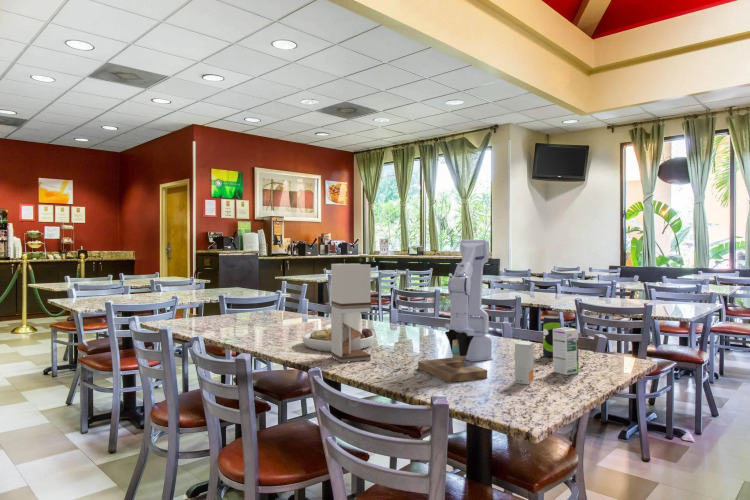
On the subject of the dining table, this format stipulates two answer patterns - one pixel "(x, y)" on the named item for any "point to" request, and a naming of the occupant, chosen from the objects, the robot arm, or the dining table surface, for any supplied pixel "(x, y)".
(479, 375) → the notched board
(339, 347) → the white cutaway tower
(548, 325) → the beverage can
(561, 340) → the syrup box
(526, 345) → the skincare box
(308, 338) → the bowl
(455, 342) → the wooden bobbin
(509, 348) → the dining table surface
